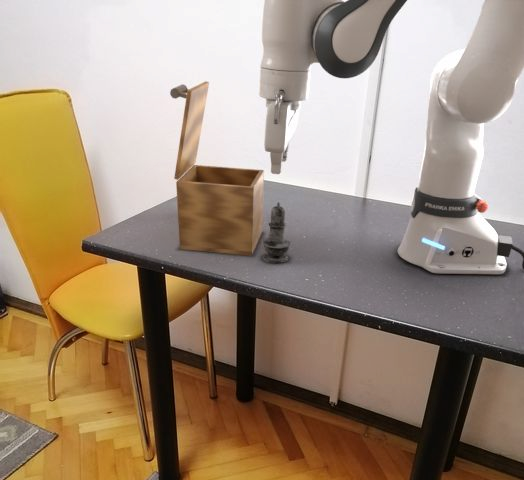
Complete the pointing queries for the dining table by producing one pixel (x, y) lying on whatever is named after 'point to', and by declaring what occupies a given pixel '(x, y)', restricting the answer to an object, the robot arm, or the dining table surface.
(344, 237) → the dining table surface
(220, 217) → the chest
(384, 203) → the dining table surface
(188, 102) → the lid
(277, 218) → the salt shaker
